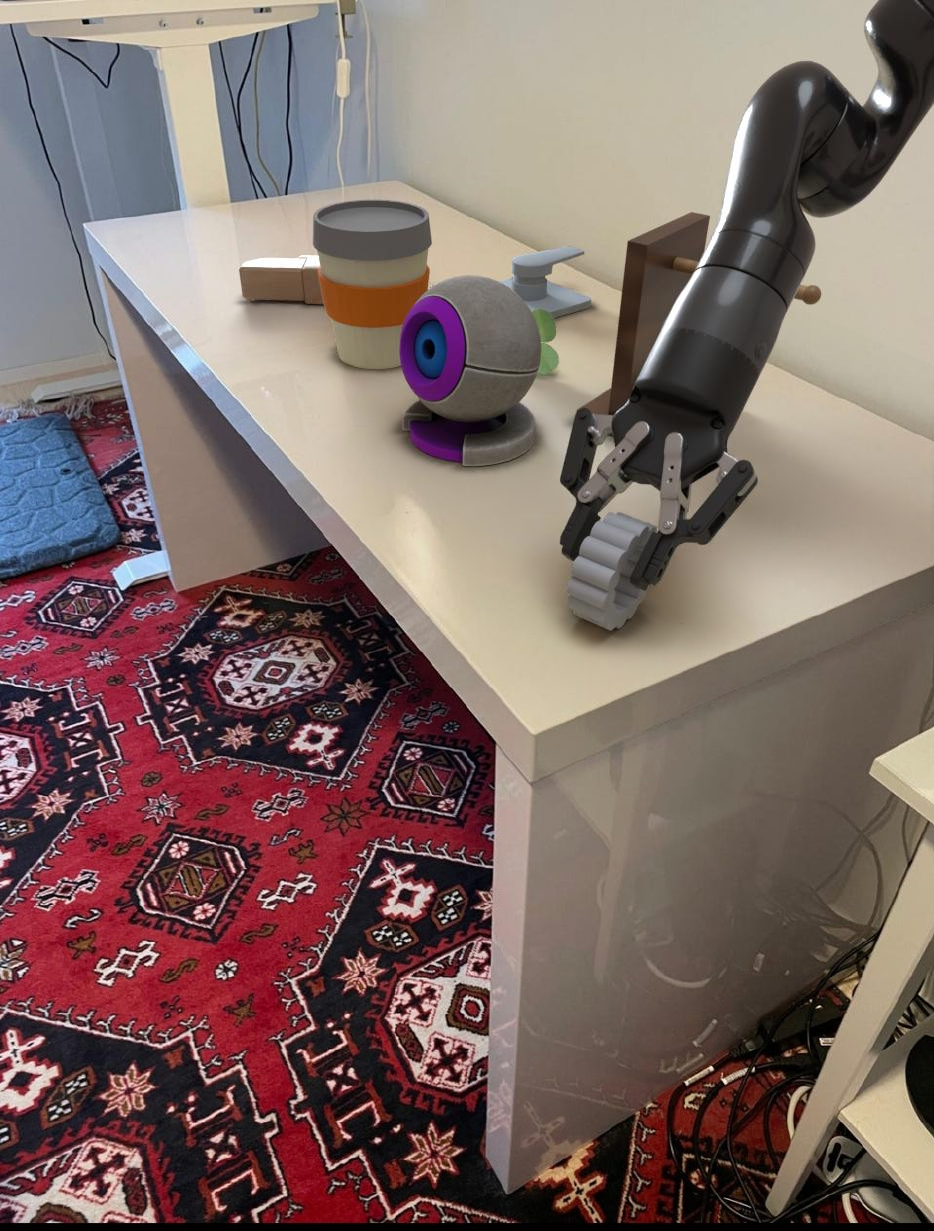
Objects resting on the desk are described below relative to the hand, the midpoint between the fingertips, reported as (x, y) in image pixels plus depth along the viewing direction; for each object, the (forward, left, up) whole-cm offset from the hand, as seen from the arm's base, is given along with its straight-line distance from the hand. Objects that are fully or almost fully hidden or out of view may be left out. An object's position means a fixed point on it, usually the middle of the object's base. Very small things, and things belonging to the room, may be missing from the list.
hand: (602, 570), depth 66 cm
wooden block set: (+38, -69, -5) cm, 79 cm away
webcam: (+13, -29, -5) cm, 32 cm away
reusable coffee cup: (+26, -47, -5) cm, 54 cm away
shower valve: (+10, -67, -5) cm, 68 cm away
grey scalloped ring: (-1, -2, -5) cm, 5 cm away
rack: (-9, -34, -5) cm, 35 cm away
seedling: (+8, -47, -5) cm, 48 cm away
